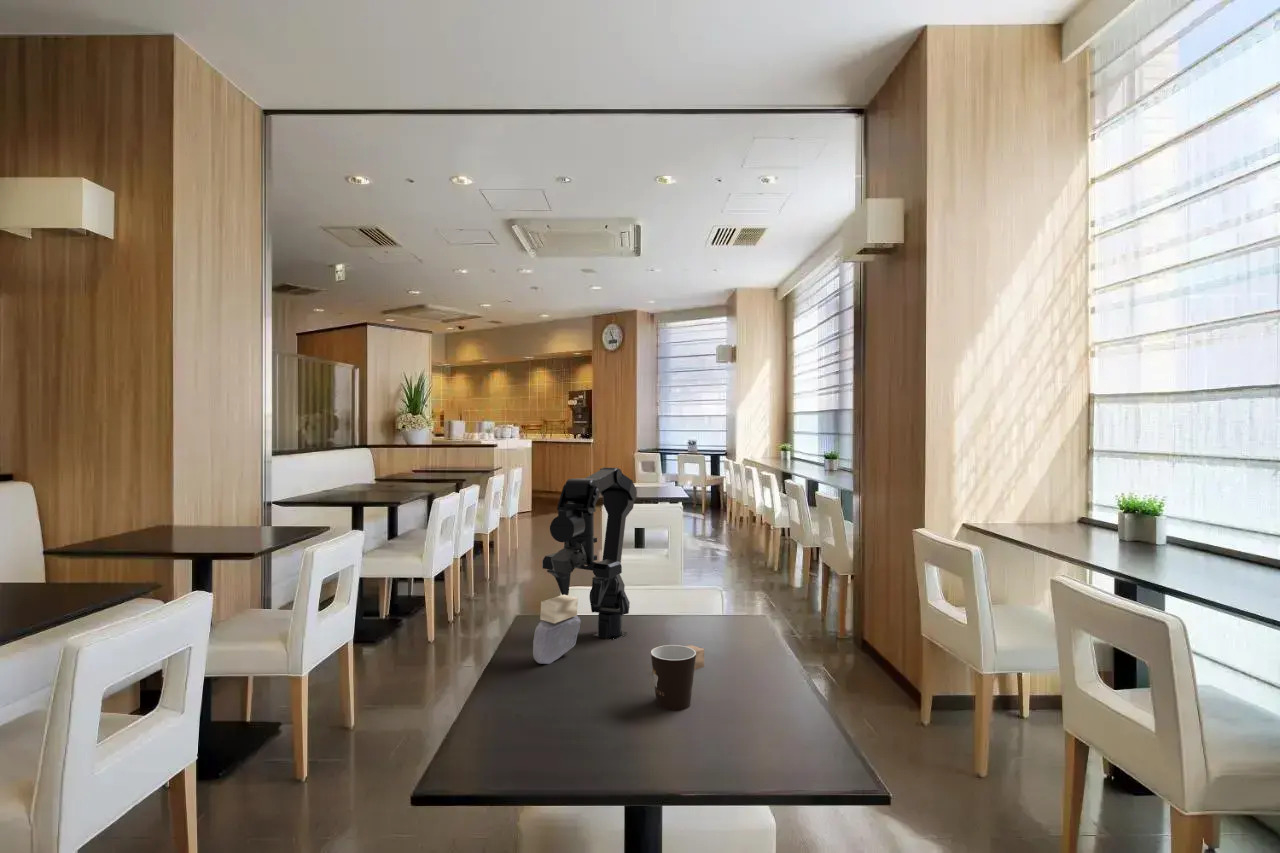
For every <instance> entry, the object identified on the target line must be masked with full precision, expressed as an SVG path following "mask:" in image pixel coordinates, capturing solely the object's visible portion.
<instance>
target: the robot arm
mask: <svg viewBox="0 0 1280 853" xmlns="http://www.w3.org/2000/svg"><path fill="white" fill-rule="evenodd" d="M637 494H638V492H637V488H636V486H635V484H634V481H633V480H632V479H630V478H629V477H628V476H627V475H625V474H624V473H623V472H622V470H621V468H618V467H602V468H600V469H599V470H598V471H596V472H594V473H592V474H590V475H588V476H586V477H584V478H582V477H580V478H569V479H567V480H566V482H565V483H564V485H563V487H562V490H561V493H560V497H559V500H558V503H557V508H556V510H557V515H558V516H556V517H555V518H553V519H552V521H551V523H550V526H549V532H550V535H551V536H552V538H553V539H554V540H555V541H557V542H559V543H563V544H564V545H563V548H562V549H560V550H558V551H557V552H554V553H551V554H548V555H545V556H544V557H543V559H542V560H541V564H542V565H541V566H542V567H541V568H542V570H543V569H544V570H546V573H548V574H550V575H552V576H553V577H554V579H555V581H556V582H557V586H558V588H559V591H560V594H561V595H568V596H569V594H570V585H571V574H572V573H573V572H574V570H575V569H579V570H586V571H592V573H593V575H594V576H593V577H592V581H591V582H592V583H591V584H592V585H591V589H590V592H589V602H590V610H591V613H597V614H598V621H597V632H596V633H595V634H593V637H594V636H597V637H596V638H600V637H602V638H601V639H605V638H607V639H606V640H610V639H613V638H614V639H616V640H618V639H620V638H622V637H621V636H623V635H625V634H627V635H628V632H627V631H623V616H624V615H628V614H629V613H630V600H629V598H628V596H627V594H626V591H625V583H624V580H623V579H622V576H621V574H622V573H623V571H622V570H623V569H622V553H623V546H624V545H623V544H624V536H625V528H626V518H627V517H628V516H629V514H630V513H631V511H632V510H633V509H634V505H635V501H636V499H637V496H638V495H637ZM600 495H601V497H602V499H603V501H602V504H603V506H604V509H605V511H606V513H607V519H606V527H605V536H604V545H603V552H602V560H601V561H598V555H597V554H596V555H595V548H594V547H595V543H598V537H596V536H595V534H594V533H595V532H594V529H595V528H594V523H595V522H594V519H595V518H594V513H595V512H596V505H597V502H598V501H599V499H600ZM596 561H598V562H596ZM625 636H626V635H625ZM619 637H620V638H619ZM623 637H624V636H623ZM617 638H618V639H617Z"/></svg>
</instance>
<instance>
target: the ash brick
mask: <svg viewBox="0 0 1280 853" xmlns="http://www.w3.org/2000/svg"><path fill="white" fill-rule="evenodd" d="M578 599H579V598H578V597H576V596H572V595H569V594H568V595H562V594H561V595H558V596H555V597H554V596H553V597H551V598H548V599H546V600H542V601H540V616H539V617H540V618H539V619H540V621H543V620H544V621H547V622H551V623H557V622H560V621H563V620H565V619H568V618H571V617H574V616H576V615H577V616H578V601H579V600H578Z"/></svg>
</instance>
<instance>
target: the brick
mask: <svg viewBox="0 0 1280 853" xmlns="http://www.w3.org/2000/svg"><path fill="white" fill-rule="evenodd" d="M686 647H689V648H692V649H694V650H695V651H696V659H695V668H694V671H696V670H698V669H701V668H704V667H705V649H704V648H702V647H697V646H695V645H692V644H690V645H689V644H688V645H687V646H686Z"/></svg>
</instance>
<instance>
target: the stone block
mask: <svg viewBox="0 0 1280 853" xmlns="http://www.w3.org/2000/svg"><path fill="white" fill-rule="evenodd" d="M581 623H582V621H581V618H580V617H579V616H578V614H577V615H576V616H574V617H571V618H568V619H565V620H563V621H560V622H557V623H551V622H547V621H544V620H540V622H538V624H537V625H536V627H535V631H534V635H533V641H532V657H533V659H534V661H535V662H536V663H538V664H540V665H541V664H543V665H550V664H552V663H553V662H554V661H557V660H558V659H560V658H561V657H562V656H564V654H565V653H567V652H569V651H570V650H571V649H573V648H574V646H576V643H577V639H578V638H577V637H578V634H579V631H580V629H581V628H580V627H581V626H580V625H581Z"/></svg>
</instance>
